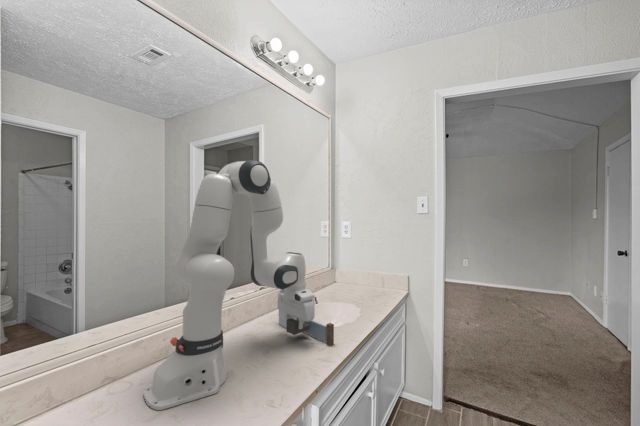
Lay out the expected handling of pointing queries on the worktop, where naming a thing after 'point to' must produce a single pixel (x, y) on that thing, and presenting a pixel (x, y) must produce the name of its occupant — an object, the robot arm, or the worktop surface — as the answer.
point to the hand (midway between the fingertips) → (295, 326)
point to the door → (316, 330)
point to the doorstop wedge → (293, 327)
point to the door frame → (329, 334)
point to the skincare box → (284, 318)
